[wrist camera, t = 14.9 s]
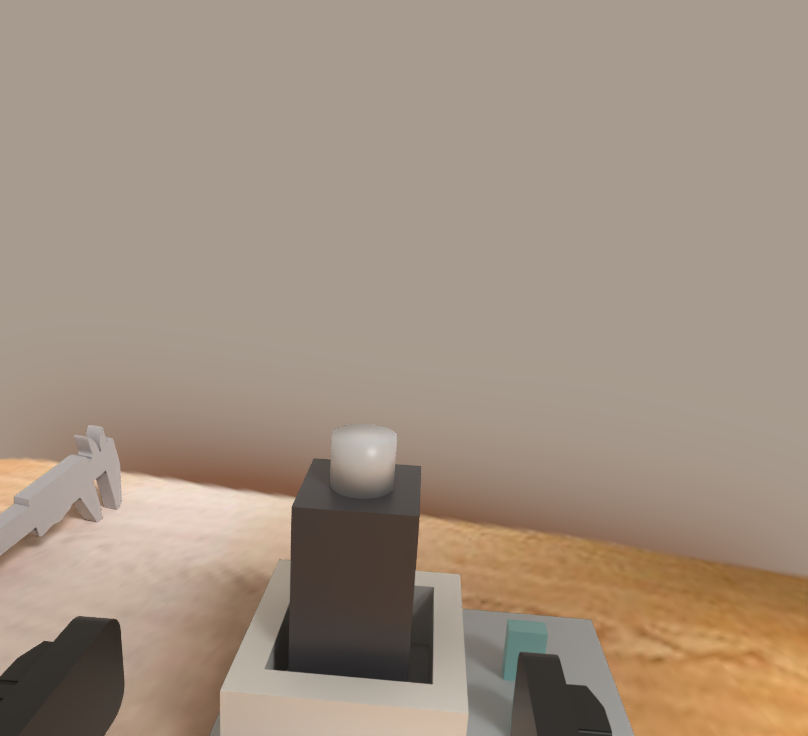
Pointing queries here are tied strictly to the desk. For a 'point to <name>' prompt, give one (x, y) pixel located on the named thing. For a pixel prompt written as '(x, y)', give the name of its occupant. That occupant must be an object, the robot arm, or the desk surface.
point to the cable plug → (354, 559)
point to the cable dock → (427, 672)
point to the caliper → (66, 490)
